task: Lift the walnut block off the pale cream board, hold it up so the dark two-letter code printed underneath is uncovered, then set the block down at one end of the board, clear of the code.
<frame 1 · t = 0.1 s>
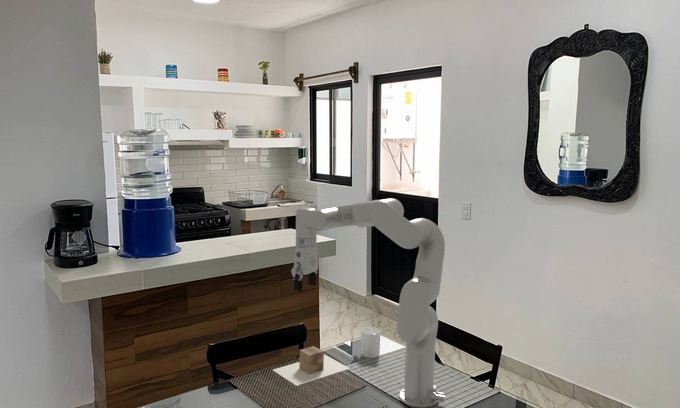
hand: (305, 287, 192), 31 cm above the table, tool pointing down, fingers open, 9 cm apart
walnut block: (311, 368, 194), point 1 cm above the table, touching code board
white cup: (370, 355, 210), on the table
code board: (311, 370, 194), on the table
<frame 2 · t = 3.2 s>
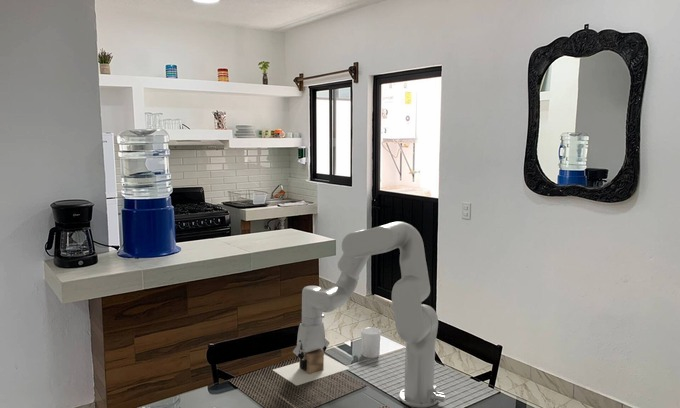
hand: (311, 366, 194), 2 cm above the table, tool pointing down, fingers closed on walnut block, 6 cm apart
walnut block: (311, 368, 194), point 1 cm above the table, touching code board, gripper
everything else where it was.
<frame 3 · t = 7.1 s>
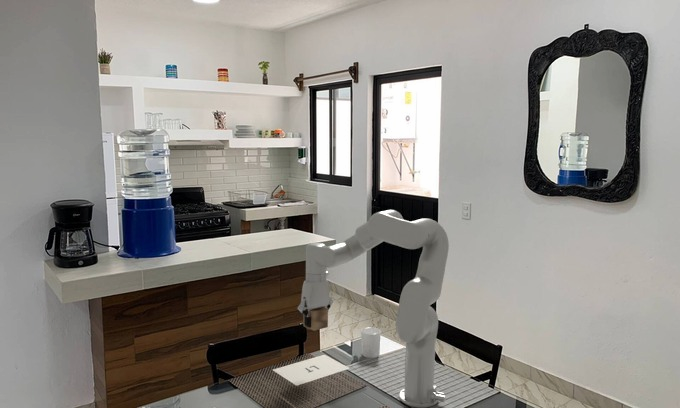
hand: (315, 324, 193), 17 cm above the table, tool pointing down, fingers closed on walnut block, 6 cm apart
walnut block: (315, 326, 193), point 17 cm above the table, touching gripper
everything else where it was.
when the fingers open (2 cm above the table, at t = 11.3 s): walnut block stays where it is, resting on code board.
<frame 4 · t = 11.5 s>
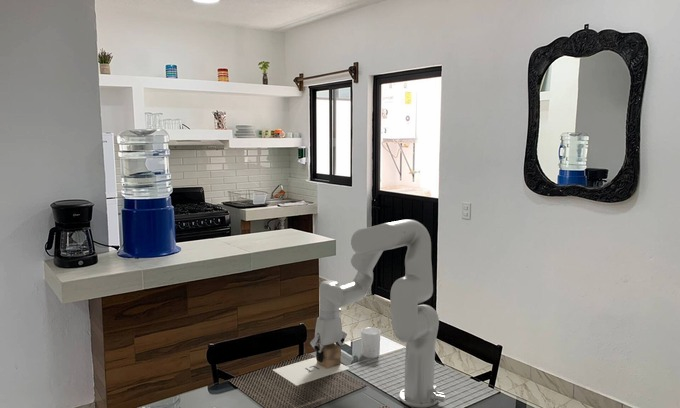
hand: (328, 358, 199), 3 cm above the table, tool pointing down, fingers open, 8 cm apart
walnut block: (328, 363, 199), point 1 cm above the table, touching code board
everything else where it was.
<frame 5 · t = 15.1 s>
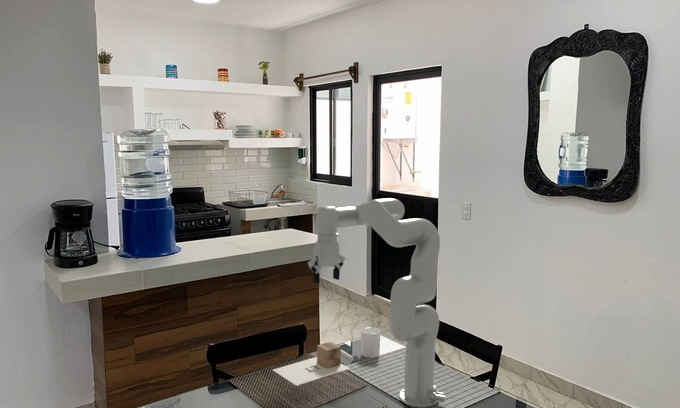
hand: (326, 280, 205), 30 cm above the table, tool pointing down, fingers open, 9 cm apart
nothing on the table moved.
at the end: walnut block inside the target area on the code board (0.2 cm from its centre), point 0.6 cm above the code board's base; walnut block tilted 0°; the gripper is holding nothing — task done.
